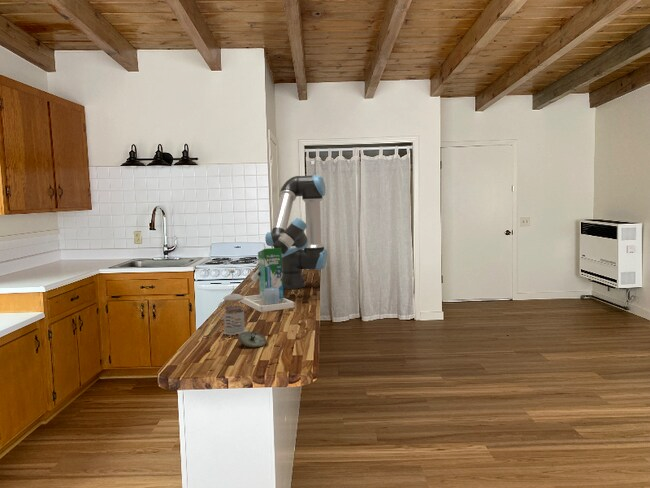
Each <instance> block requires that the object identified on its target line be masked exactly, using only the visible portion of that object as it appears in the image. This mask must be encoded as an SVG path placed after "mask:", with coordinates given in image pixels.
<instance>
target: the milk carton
mask: <svg viewBox="0 0 650 488" xmlns="http://www.w3.org/2000/svg"><path fill="white" fill-rule="evenodd" d="M257 263H258V266H259V267H258V268H259V271H260V278H259V279H258V280H259V284H258V285H259V295H260V298H262V299H264V288H268V287H278V288H279V299H281V298H284V289H283V276H282V251H281V248H274V247H272V246H269V247H265V248H264V249H262V250H260V251H257Z"/></svg>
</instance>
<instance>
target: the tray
mask: <svg viewBox="0 0 650 488" xmlns="http://www.w3.org/2000/svg"><path fill="white" fill-rule="evenodd" d="M243 297H244V298H243V299H242V300H240V302H241V304H244V305H245V306H248V307H250V308H252V309H253V310H255V311H258V312H260V313H264V312H265V313H266V312H271V311H278V310H280V311H281V310H286V309H294V308H295V302H294V301H293V300H290V299H288V298H285V297H283V298H281V299H279V304H273V305H266V306H265V300H264V299H262V298H260V294H254V295H247V296H243Z"/></svg>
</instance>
